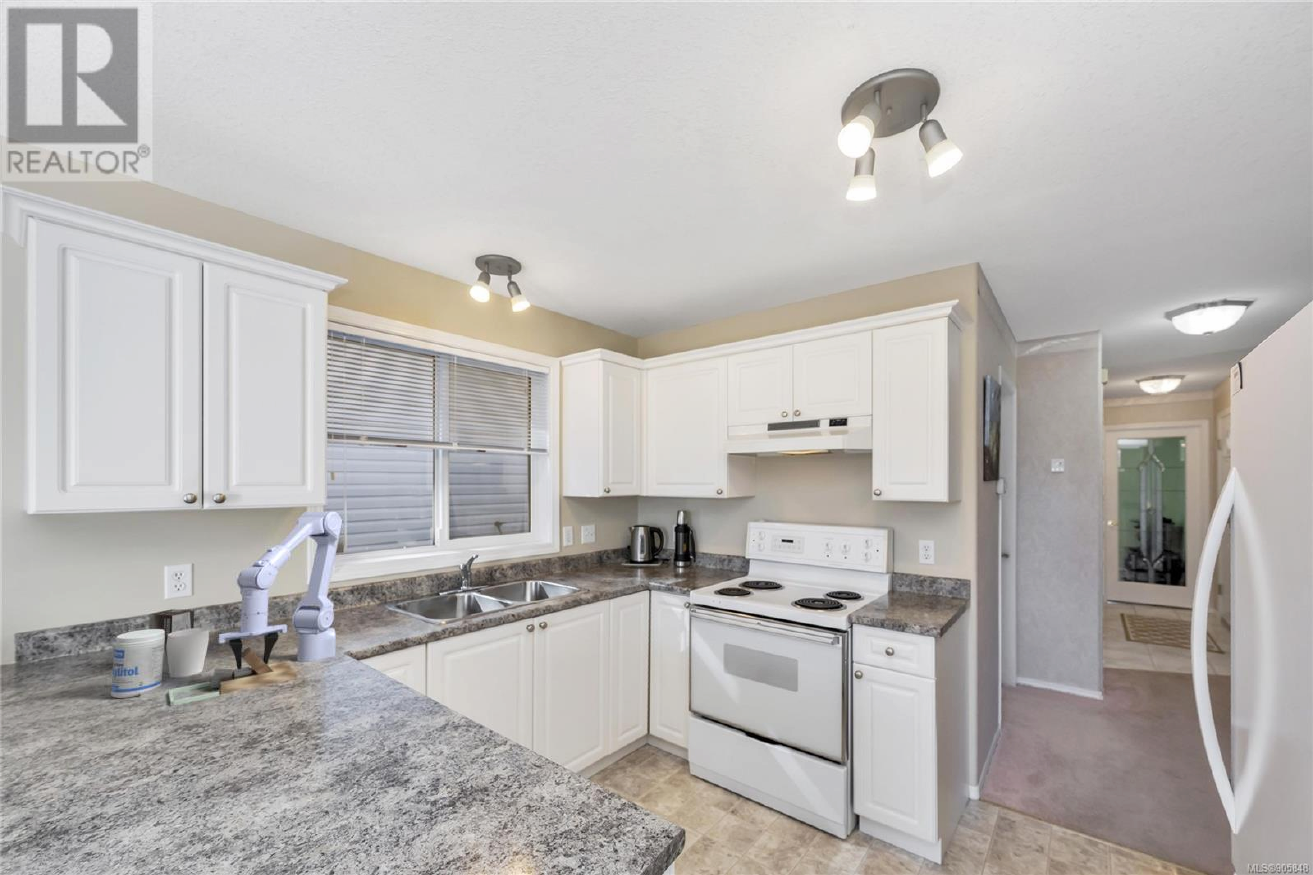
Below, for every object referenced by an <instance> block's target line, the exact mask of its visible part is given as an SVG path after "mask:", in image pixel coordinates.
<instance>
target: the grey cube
mask: <svg viewBox="0 0 1313 875" xmlns="http://www.w3.org/2000/svg"><path fill="white" fill-rule="evenodd" d="M251 668H252V667H251V666H245V667H241V669H237V668H236V669H232V672H233V674H232V680H234V679H239V678H244V677H249V676H251Z"/></svg>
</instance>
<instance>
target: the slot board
mask: <svg viewBox="0 0 1313 875" xmlns="http://www.w3.org/2000/svg"><path fill="white" fill-rule="evenodd" d="M291 664H292V662H291V661H290V660H285V661H279V662H276V663H275V662H274V663H268V664H267V665H268V666H269V667H270V668H271V669H272V670H273V671H274V672H269V673H264V674H258V673H257V672H256V671H255V670H254V669H253V668H252V667H250V668H251V676H249V677H244V678H239V679H234V680H232V677H231V680H229V681H225V682H220V687H217V689H218V691H219V695H226V694H231V693H234V692H239V691H244V690H245V691H246V690H249V689H253V688H258V687H263V686H267V685H272V684H277V683H281V682H286V681H291V680H296V679H297V678H298V677H297V676H298V675H297V674H298V669H297V667H296V666H294V667H291Z"/></svg>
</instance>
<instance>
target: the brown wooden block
mask: <svg viewBox="0 0 1313 875" xmlns="http://www.w3.org/2000/svg"><path fill="white" fill-rule="evenodd" d="M241 660H242V661H245V663H246V664H247V665H248V666H249V667H250V668H253V669H254V670H255V671H256V672H257V673H258V674H264V673H269V672H274V671H273V670H272V669H271V668H270V667H269V666H268V664H265V662H264V659H262V658H261V657H260V656H259V655H258V654H257V653H256V652H255V651H254V650H253V648H251V647H250V646H247V648H245V649H243V650H242V654H241Z"/></svg>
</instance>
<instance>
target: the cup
mask: <svg viewBox="0 0 1313 875" xmlns="http://www.w3.org/2000/svg"><path fill="white" fill-rule="evenodd" d="M209 637H210V636H209V628H207V627H194V628H192V629H185V630H180V631H175V632H172V633H170V634H168V638H167V645H166V649H167V657H168V665H169V672H170V673H169V678H170V679H171V678H184V677H189V676H193V675H196V674H200V673H203V668H204V664H205V660H206V659H205V658H206V655H207V651H208V646H209V642H210V641H209V639H210V638H209Z"/></svg>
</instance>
